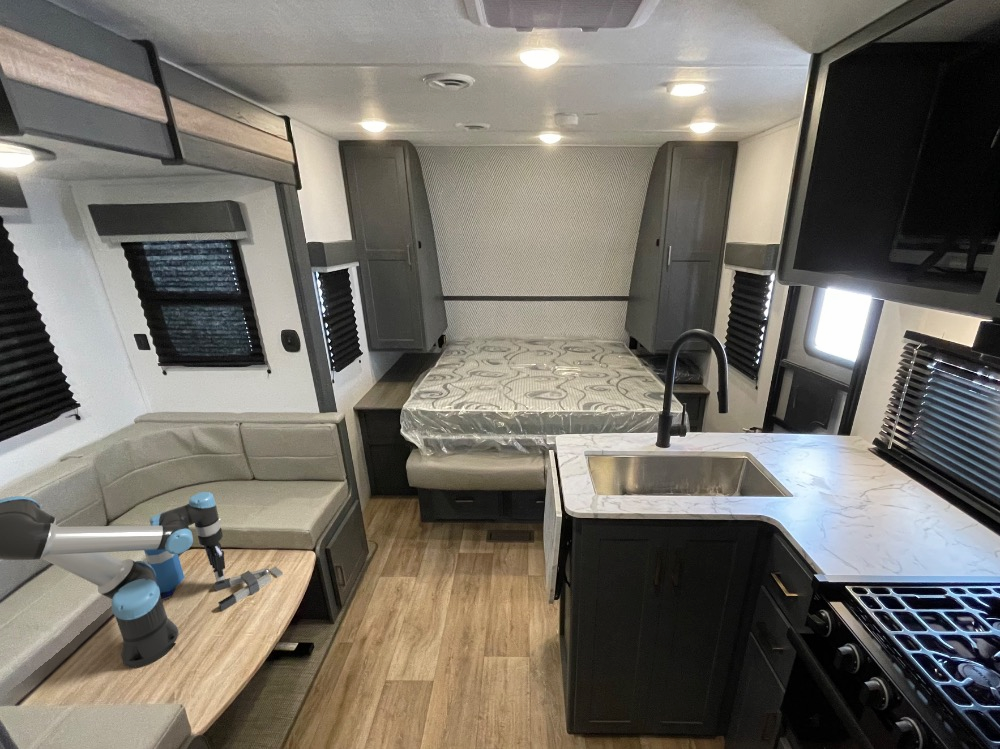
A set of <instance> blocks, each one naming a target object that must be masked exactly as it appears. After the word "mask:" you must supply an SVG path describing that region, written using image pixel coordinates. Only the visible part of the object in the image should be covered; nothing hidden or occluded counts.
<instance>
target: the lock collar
mask: <svg viewBox="0 0 1000 749" xmlns="http://www.w3.org/2000/svg"><path fill="white" fill-rule="evenodd" d="M251 572H252V571H250V570H247V571H244V572H242V573H241V574H239V575H240V576H241V579H242V580H243V581H244V582H245V583H244V584H246V586H247V585H248V586H249V588H250V592H251V594H250V595H251V596H253V595H254V594H255V593H257V592H259V591H260V589H261V588H259V585H258V582H257V578H256V577H255V576H254V575H253V574H252V573H251Z"/></svg>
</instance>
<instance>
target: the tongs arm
mask: <svg viewBox="0 0 1000 749" xmlns="http://www.w3.org/2000/svg"><path fill="white" fill-rule="evenodd" d="M250 572H251V573H252V574H253V575H254V576H255V577H256V578H257V579H259V578H261V577H262V576H264V575H266V574H267V573H268V574H269V575H270V576H271V574H270V569H269V568H268V567H264V568H260V569H258V570H257V569H256V570H254V571H250ZM240 575H241V574H239V575H235V576H233V577H228V578H225V579H224V580H221V581H217V582H216V581H214V586H213V587H214V589H215V592H218V591H222V590H225V589H228V588H231V587H235V586H238V585H243V584H246V583H245V582H244V581H243V580H242V579H241V576H240Z"/></svg>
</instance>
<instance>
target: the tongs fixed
mask: <svg viewBox="0 0 1000 749" xmlns="http://www.w3.org/2000/svg"><path fill="white" fill-rule="evenodd" d="M270 573H271V574H272V575H273V576H274V577H275V578H276V579H277V578H279V577H281V576H283V575H284V573H283V571H282V570H281V569H280V568H278V567H277V566H273V567H271V568H270V569H269V574H270ZM269 574H268V573H267V574H266V575H264V576H262V577H261V578H259V579H257V582H258V585H259V589H261V588H263V587H264V586H266V585H268V584H269V583H271V582H272V578H271V574H270V575H269ZM249 595H251V592H250V588H249V586H248V585H247V584H246V586H244V587H242V588H240V589H239V590H237V591H236V592H234V593H232V594H230V595H229V596H227V597H225V598H224V599H222V600H220V601H219V602H218V603H217V604H218V607H219V610H220V611H221V612H224V611H225V610H228V609H229V608H230V607H232V606H234V605H235V604H237V603H238V602H239V601H241V600H243V599H245V598H246V597H249Z"/></svg>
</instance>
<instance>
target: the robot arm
mask: <svg viewBox="0 0 1000 749" xmlns="http://www.w3.org/2000/svg"><path fill="white" fill-rule="evenodd" d="M220 521H221V518H220V517H219V512H218V508H217V503H216V499H215V497H214V494H213V493H211V492H209V491H203V492H202V491H201V492H198V493H196V494H194V495H192V496H190V498H189V500H188V503H186V504H185V505H181V506H179V507H176V508H173V509H169V510H167V511H163V512H161V513H159V514H155V515H153V516H152V517H150V518H149V523H150V524H149V525H118V526H117V525H109V526H108V525H107V526H105V525H101V526H98V525H97V526H96V525H95V526H93V525H92V526H90V525H89V526H58V525H57V524H56V523H57V518H56V517H55V516H53V515H51V514H49V513H48V512H46V511H44V510H42V509H41V506H40V504H39V503H38V501H36V500H35V499H33V498H31V497H28V496H22V495H15V496H8V497H5V498H4V497H3V498H2V499H0V560H1V561H2V560H3V561H32V560H36V561H37V560H44V561H46V562H48V563H50V564H52V565H54V566H57V567H58V568H60V569H63V570H64V571H67V572H69V573H71V574H73V575H74V576H77V577H79V578H81V579H83V580H86V581H87V582H90V583H91V584H93V585H96V586H97V592H98V594H100V595H102V596H104V597H107V598H109V599H111V612H112V614H113V615H114V617H115V620H116V622H117V626H118V628H119V632H120V633H121V638H122V646H121V653H120V657H121V661H122V664H123V665H124V666H125V667H127V668H133V669H134V668H141V667H145V666H147V665H150V664H152V663H154V662H156V661H158V660H159V659H160V660H161V659H162V658H163V657H165V656H166V655H167V654H168V653H169V652H170V651H171V650H172V649H173V648H174V647H175V646H176V641H177V640H178V636H179V628H178V626H177V625H176V624H175V623H174V622H172V620H171V619H170V618H168V616H167V613H166V612H167V611H166V609H165V606H164V603H163V602H164V601H162V599H161V595H160V590H159V587H158V584H157V580H156V574H155V571H154V570H153V568H152V567H151V566H150V565H149V564H148V562H146V561H141V560H136V561H134V560H133V559H131V558H130V559H129V558H127V559H124V560H122V559H119V558H118V557H115V556H114V555H112V554H111V553H114V552H115V553H117V552H135V551H144V550H164V549H166V550H167V551H168V552H169V553H171V554H178V555H180V554H183V553H185V552H186V551H188V550H189V549H190V548H191V547H192V545H193V543H194V537H193V531H191V529H190V527H189V526H191V525H194V528H195V531H196V534H197V539H198V543H199V545H200V546H203V548H204V550H205V553H206V555H207V559H208V562H209V565H210V566H211V567H212V569H213V571H212V572H213V573H214V577H215V582H217V581H221V580H224V579H226V576H225V571H224V570H225V569H226V561H225V550H222V548H221V547H222V544H221V542H220V541H221V540H222V538H223V536H224V534H223V530H222V528H221V522H220ZM109 553H110V554H109Z"/></svg>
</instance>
